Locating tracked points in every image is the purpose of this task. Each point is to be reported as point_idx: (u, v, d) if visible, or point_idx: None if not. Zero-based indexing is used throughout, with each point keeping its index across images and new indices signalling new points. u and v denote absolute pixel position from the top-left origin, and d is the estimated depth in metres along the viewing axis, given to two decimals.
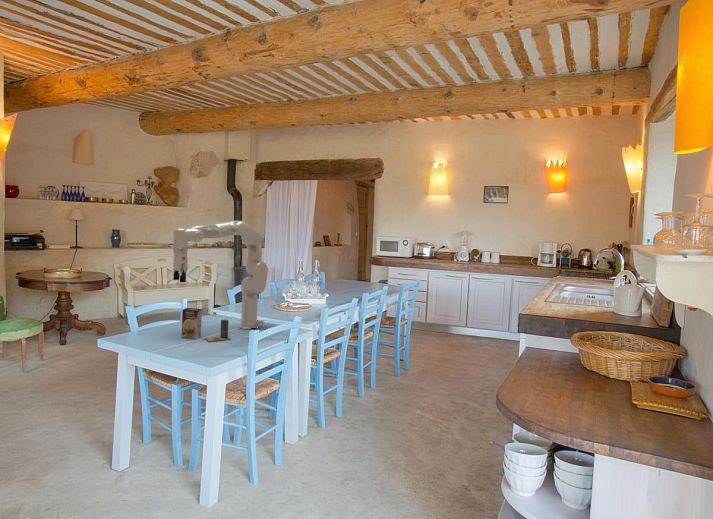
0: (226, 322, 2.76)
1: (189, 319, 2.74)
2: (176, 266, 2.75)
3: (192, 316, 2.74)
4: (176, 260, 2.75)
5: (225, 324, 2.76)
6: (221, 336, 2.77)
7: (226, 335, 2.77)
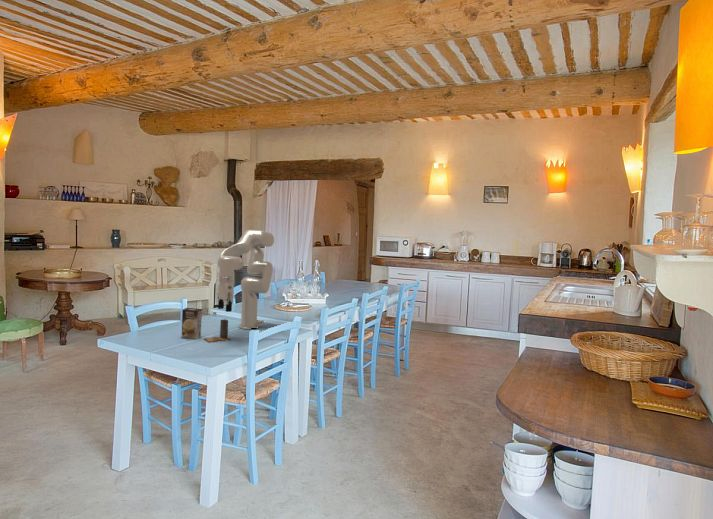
0: (226, 322, 2.76)
1: (189, 319, 2.74)
2: (222, 295, 2.74)
3: (192, 316, 2.74)
4: (222, 289, 2.73)
5: (224, 324, 2.76)
6: (221, 336, 2.77)
7: (226, 335, 2.77)
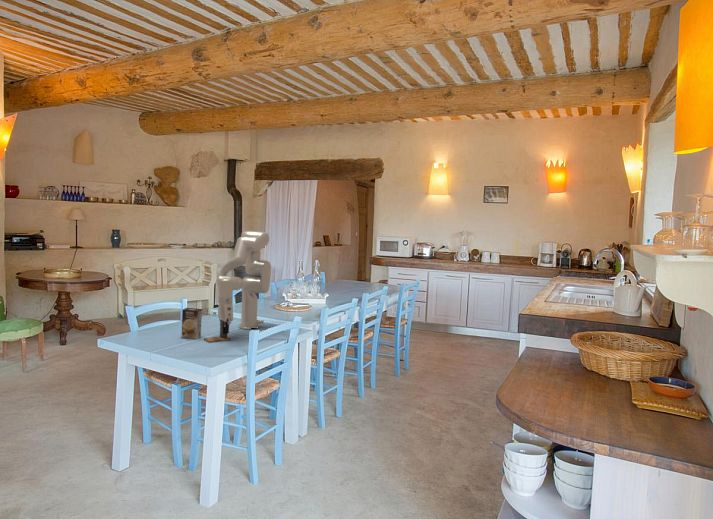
0: None
1: (189, 319, 2.74)
2: (221, 316, 2.75)
3: (192, 316, 2.74)
4: (221, 310, 2.74)
5: None
6: (220, 336, 2.77)
7: (225, 335, 2.77)
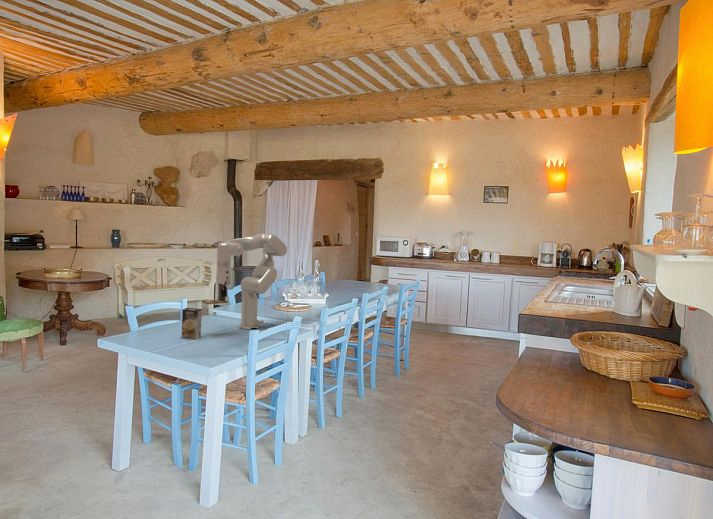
0: None
1: (189, 319, 2.74)
2: (220, 279, 2.85)
3: (192, 316, 2.74)
4: (220, 274, 2.84)
5: None
6: (219, 299, 2.87)
7: (223, 298, 2.87)
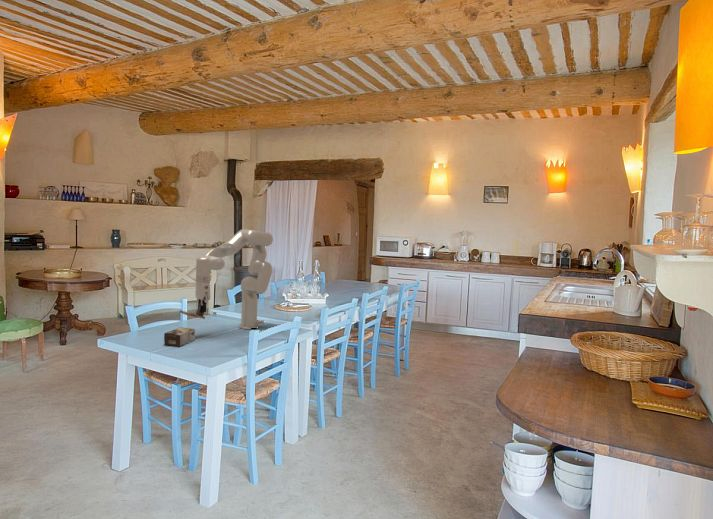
0: None
1: None
2: (199, 295, 2.78)
3: None
4: (199, 289, 2.77)
5: None
6: (197, 313, 2.79)
7: (202, 313, 2.79)
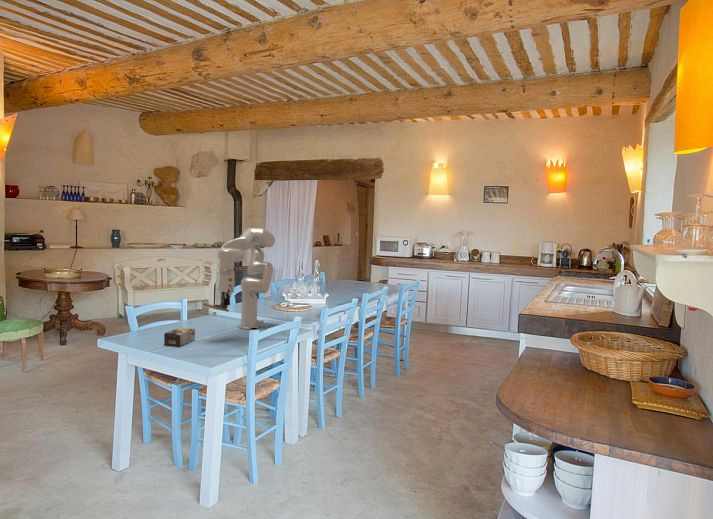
0: None
1: None
2: (222, 287, 2.74)
3: None
4: (222, 281, 2.73)
5: None
6: (220, 306, 2.75)
7: (225, 306, 2.75)
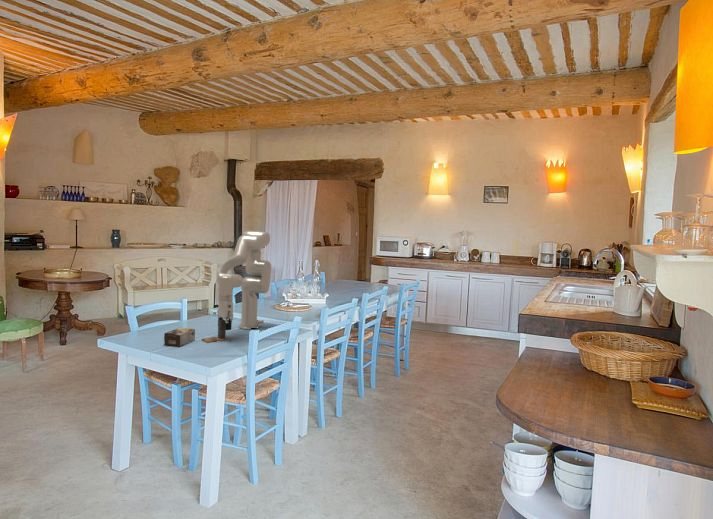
0: (223, 322, 2.76)
1: None
2: (221, 313, 2.75)
3: None
4: (222, 308, 2.74)
5: (222, 325, 2.75)
6: (218, 336, 2.76)
7: (223, 335, 2.76)
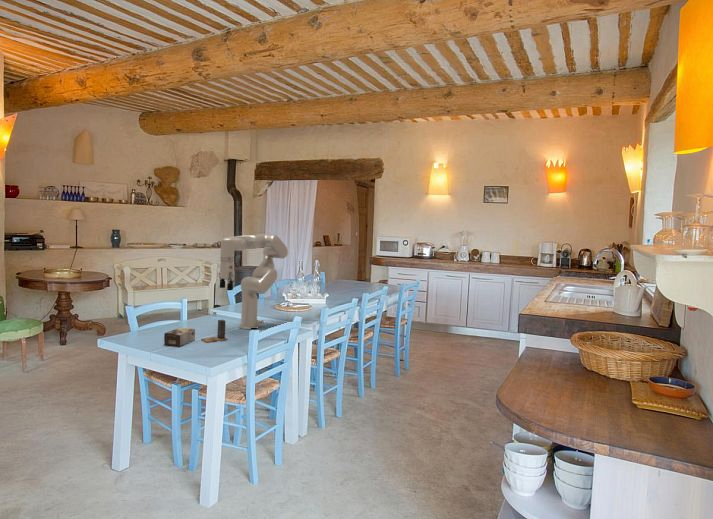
0: (223, 322, 2.75)
1: None
2: (223, 274, 2.86)
3: None
4: (223, 269, 2.86)
5: (222, 325, 2.75)
6: (218, 336, 2.76)
7: (223, 335, 2.76)
